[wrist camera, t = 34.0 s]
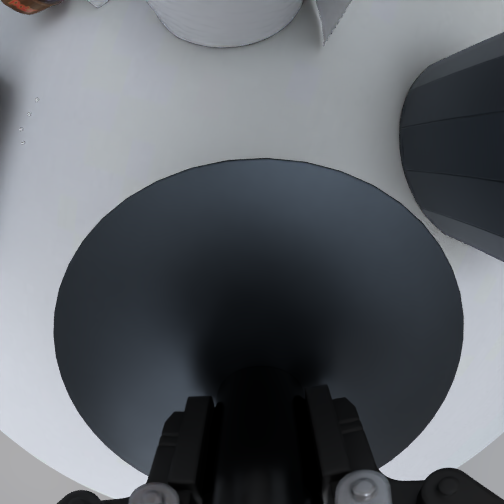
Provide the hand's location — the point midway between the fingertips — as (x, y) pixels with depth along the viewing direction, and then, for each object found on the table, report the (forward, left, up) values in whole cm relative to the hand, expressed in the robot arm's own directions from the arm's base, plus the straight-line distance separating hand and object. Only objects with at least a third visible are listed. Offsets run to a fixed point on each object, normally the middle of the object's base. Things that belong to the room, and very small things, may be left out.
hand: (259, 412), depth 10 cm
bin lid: (0, 0, -1) cm, 1 cm away
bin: (+18, +8, -13) cm, 24 cm away
